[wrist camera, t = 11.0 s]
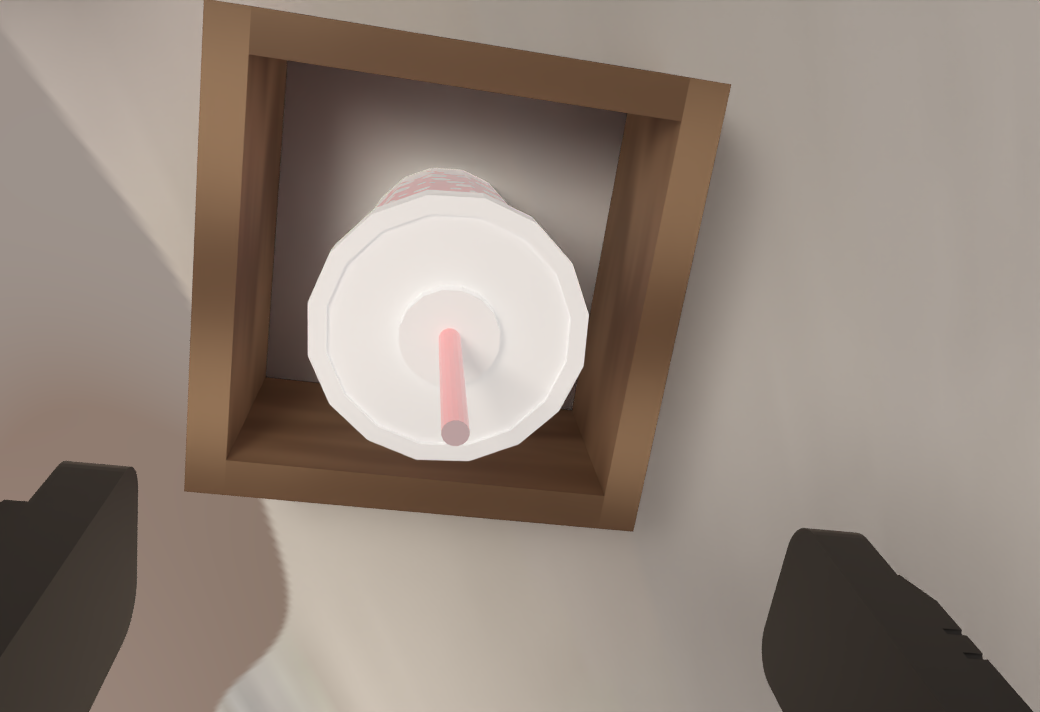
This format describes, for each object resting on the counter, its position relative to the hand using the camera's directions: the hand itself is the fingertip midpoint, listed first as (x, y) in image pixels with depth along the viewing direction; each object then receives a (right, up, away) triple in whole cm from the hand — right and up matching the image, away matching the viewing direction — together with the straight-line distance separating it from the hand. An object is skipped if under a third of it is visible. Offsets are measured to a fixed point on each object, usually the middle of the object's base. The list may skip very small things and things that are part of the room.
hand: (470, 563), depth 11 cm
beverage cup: (-2, +6, +17) cm, 18 cm away
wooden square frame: (-2, +6, +17) cm, 18 cm away
